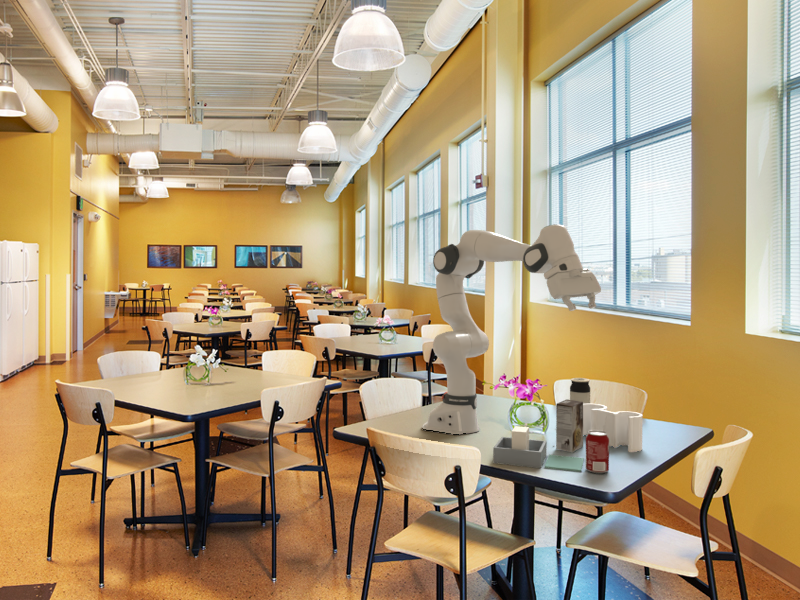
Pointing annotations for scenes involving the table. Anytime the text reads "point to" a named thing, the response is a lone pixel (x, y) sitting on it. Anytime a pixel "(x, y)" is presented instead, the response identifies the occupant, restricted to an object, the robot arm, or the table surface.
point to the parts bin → (520, 453)
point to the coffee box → (569, 425)
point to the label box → (520, 438)
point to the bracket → (614, 425)
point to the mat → (564, 463)
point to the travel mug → (580, 390)
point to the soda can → (597, 452)
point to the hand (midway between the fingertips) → (583, 309)
